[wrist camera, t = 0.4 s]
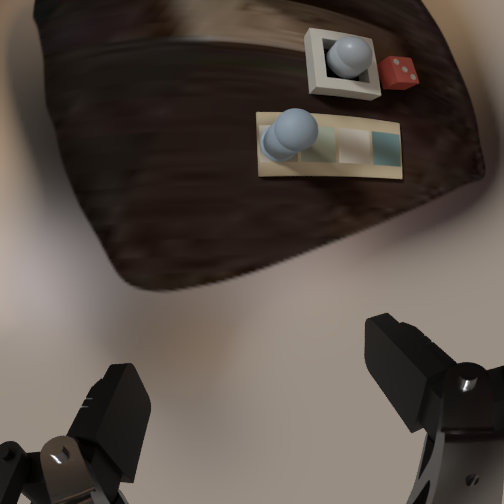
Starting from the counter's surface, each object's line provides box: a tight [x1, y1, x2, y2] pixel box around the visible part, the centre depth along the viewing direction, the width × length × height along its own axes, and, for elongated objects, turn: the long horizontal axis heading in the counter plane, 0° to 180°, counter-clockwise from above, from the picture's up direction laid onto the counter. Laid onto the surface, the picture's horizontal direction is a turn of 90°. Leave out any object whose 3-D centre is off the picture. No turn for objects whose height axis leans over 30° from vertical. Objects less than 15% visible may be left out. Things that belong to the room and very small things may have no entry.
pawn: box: [260, 109, 318, 162], centre depth 27 cm, size 5×5×11 cm
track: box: [256, 112, 402, 179], centre depth 34 cm, size 8×20×1 cm, turn 92°
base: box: [304, 28, 381, 101], centre depth 30 cm, size 9×9×3 cm
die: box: [377, 56, 419, 90], centre depth 30 cm, size 4×4×4 cm
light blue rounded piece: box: [326, 36, 373, 79], centre depth 27 cm, size 5×5×6 cm
